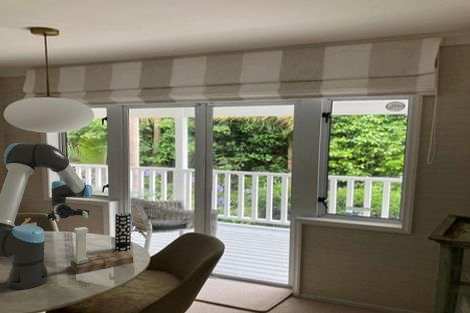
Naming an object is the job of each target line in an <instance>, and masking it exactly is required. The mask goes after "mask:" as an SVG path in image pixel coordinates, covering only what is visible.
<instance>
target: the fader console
mask: <svg viewBox="0 0 470 313" xmlns="http://www.w3.org/2000/svg"><path fill="white" fill-rule="evenodd" d="M86 257H87V256H86ZM87 258H88V262H87V263H81V264H76V263H75V262H74V259H72V260H70V267H71V269H72V270H73V271H74V272H75V273H76V274H77V275H79V274H83V273H90V272H94V271H99V270H103V269H109V268H113V267H119V266H123V265H128V264H134V256H133V255H131V254H129V252H127V251H126V252H125V251H121V252H117V251H115V252H111V253H105V254H98V255H94V256H88V257H87Z"/></svg>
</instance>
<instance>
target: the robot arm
mask: <svg viewBox="0 0 470 313" xmlns="http://www.w3.org/2000/svg"><path fill="white" fill-rule="evenodd" d="M3 162H4V164H5V168H6V170H7V171H8V172H7V174H6V176H5V179H4V182H3V185H2V187H1V190H0V259H12V260H11V262H12V264H11V269H10V272H9V275H8V277H7V280H6V286H7V288H8V289H11V290H12V289H13V290H26V289H31V288H32V289H33V288H35V287H39V286H42V285H44V284H46V283H47V282H48V281H49V278H50V276H49V275H50V273H49V270H48V268H47V266H46V262H45V239H46V237H45V230H44V229H43V228H42V227H40V226H38V225H37V226H31V225H26V226H24V225H22V226H21V225H15V220H16V217H17V214H18V211H19V209H20V204H21V202H22V199H23V196H24V193H25V190H26V187H27V184H28V182H29V181H28V180H29V177H30V176H31V175H33V174H34V173H35V170H36V168H37V169H38V168H39V169H40V168H41V169H42V168H45V169H49V170H50V171H52V172H53V173H56V175H57V176H59V178H60V179H61V180H54V181H52V182H51V188H50V189H51V201H50V202H51V203H50V205H49V209H50V212H49V213H47V220H51V221H56V222H60V219H68V218H69V217H70V216H71V217H74V216H82V217H84V218H85V219H88V218H89V215H90V210H89V209H81V208H76V209H74V208H71V206H70V205H68V204H67V198H79V199H80V198H83V199H85V198H90V197H92V195H93V186H92V185H91V184H85V183H84V181H83V180H82V179H81V177H80V176H79V174H78V173H77V172H76V171H75V170H74V168H73V167H72V166H71V163H70V159H69V157H68V156H67V155H66V153H64V152H63V151H62V150H60V149H59V148H57V147H56V146H54V145H52V144H48V143H33V142H32V143H31V142H30V143H29V142H28V143H27V142H26V143H25V142H17V143H11V144H10V145H8V146H7V147H6V149H5V151H4V153H3Z"/></svg>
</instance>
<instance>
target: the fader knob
mask: <svg viewBox="0 0 470 313" xmlns="http://www.w3.org/2000/svg"><path fill="white" fill-rule="evenodd" d="M73 233H74V234H75V256H74V257H73V260H74V262H75V263H76V264H81V263H87V262H88V258H87V234H89V228H88V227H86V226H82V227H81V226H80V227H75V228H73Z"/></svg>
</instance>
